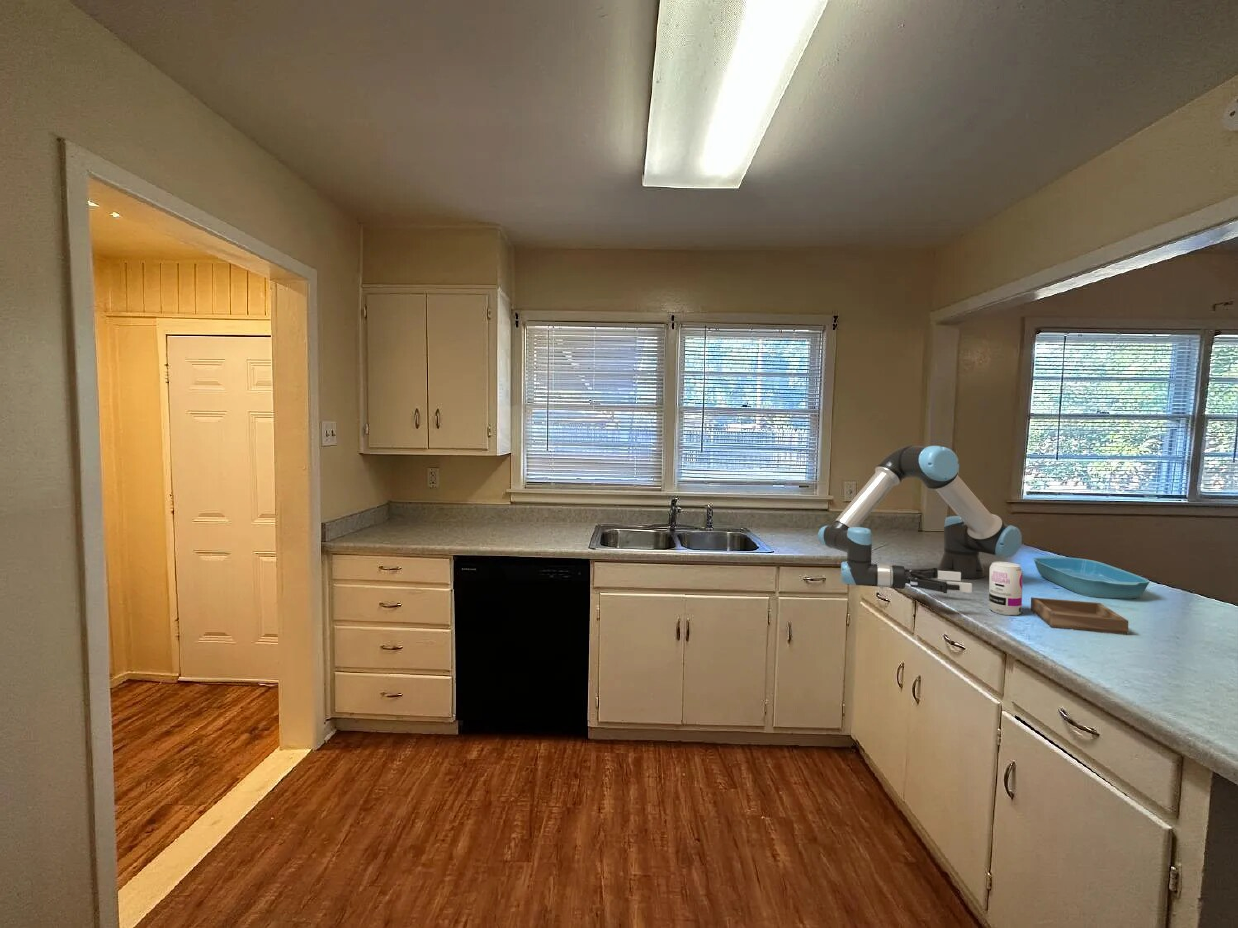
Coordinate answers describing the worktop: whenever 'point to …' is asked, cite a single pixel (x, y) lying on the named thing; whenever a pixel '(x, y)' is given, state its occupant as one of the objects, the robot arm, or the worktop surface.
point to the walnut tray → (1079, 616)
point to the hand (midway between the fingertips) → (965, 581)
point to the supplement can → (1005, 588)
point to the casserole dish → (1091, 577)
